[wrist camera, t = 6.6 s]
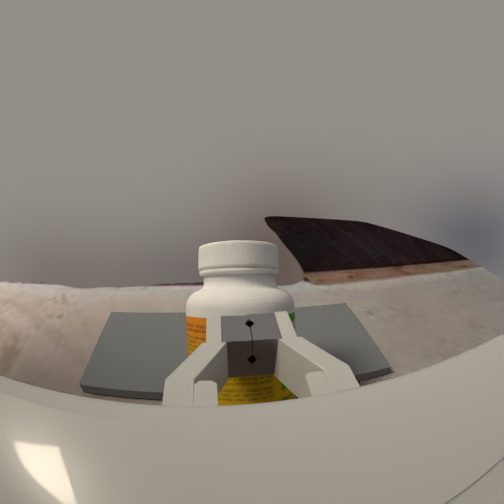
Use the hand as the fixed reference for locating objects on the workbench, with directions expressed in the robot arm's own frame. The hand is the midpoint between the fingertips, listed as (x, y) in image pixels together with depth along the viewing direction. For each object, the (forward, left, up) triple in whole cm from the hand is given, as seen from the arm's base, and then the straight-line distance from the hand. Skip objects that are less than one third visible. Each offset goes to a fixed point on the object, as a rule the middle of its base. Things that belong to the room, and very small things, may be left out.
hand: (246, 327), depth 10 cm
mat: (0, +7, -8) cm, 11 cm away
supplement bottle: (0, -1, -7) cm, 7 cm away
